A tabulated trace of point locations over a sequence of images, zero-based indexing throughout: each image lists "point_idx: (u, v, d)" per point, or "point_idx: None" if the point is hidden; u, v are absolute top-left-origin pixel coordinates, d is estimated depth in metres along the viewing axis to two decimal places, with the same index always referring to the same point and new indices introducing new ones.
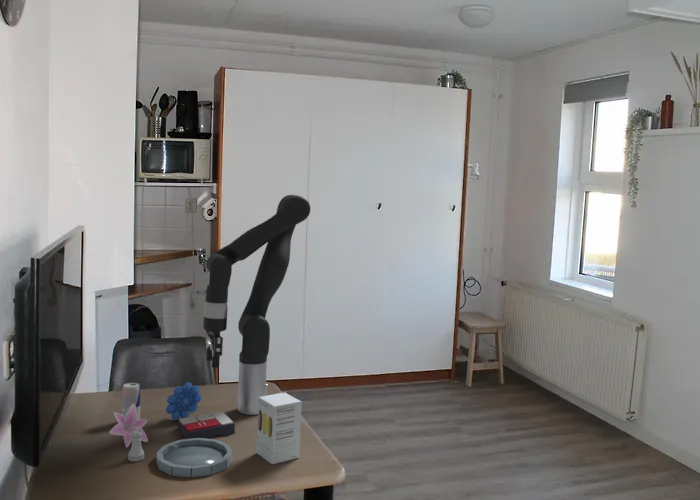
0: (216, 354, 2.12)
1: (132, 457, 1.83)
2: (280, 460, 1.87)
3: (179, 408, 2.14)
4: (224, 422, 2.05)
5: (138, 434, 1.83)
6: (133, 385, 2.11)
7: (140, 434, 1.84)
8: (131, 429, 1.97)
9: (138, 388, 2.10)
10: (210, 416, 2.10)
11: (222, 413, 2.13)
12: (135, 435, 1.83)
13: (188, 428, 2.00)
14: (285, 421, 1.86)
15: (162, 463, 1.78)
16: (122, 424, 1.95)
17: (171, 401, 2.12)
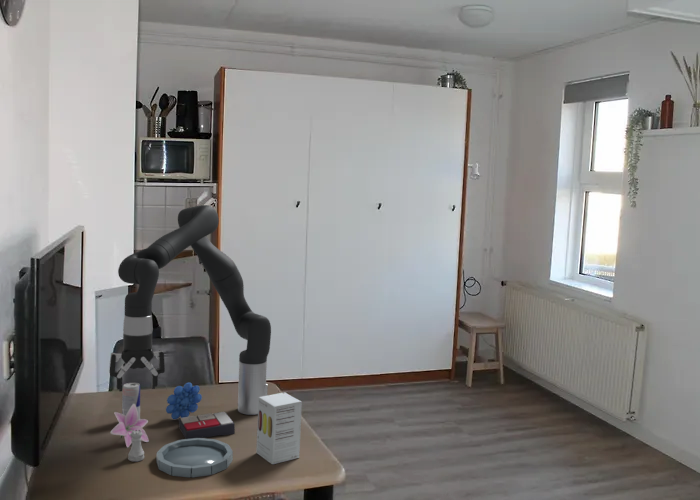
0: None
1: (132, 457, 1.83)
2: (280, 460, 1.87)
3: (179, 408, 2.14)
4: (224, 422, 2.05)
5: (138, 434, 1.83)
6: (133, 385, 2.11)
7: (140, 434, 1.84)
8: (132, 429, 1.97)
9: (138, 388, 2.10)
10: (211, 416, 2.10)
11: (224, 413, 2.13)
12: (135, 435, 1.83)
13: (187, 427, 2.01)
14: (285, 421, 1.86)
15: (162, 463, 1.78)
16: (123, 424, 1.95)
17: (171, 401, 2.12)
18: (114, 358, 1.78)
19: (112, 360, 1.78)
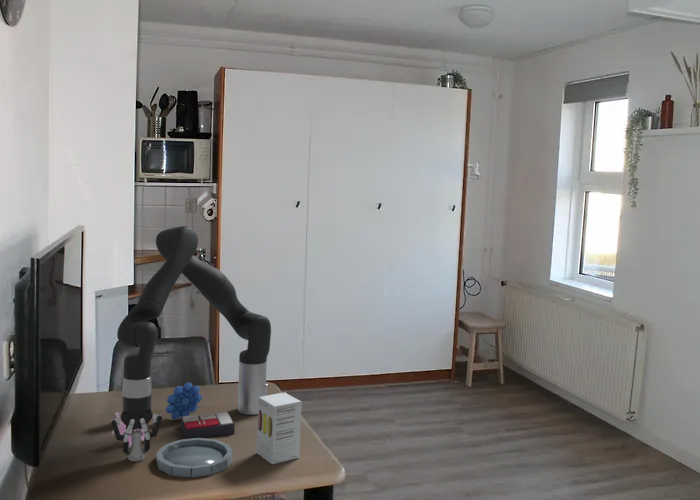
0: None
1: (132, 457, 1.83)
2: (280, 460, 1.87)
3: (179, 408, 2.14)
4: (224, 422, 2.05)
5: (138, 434, 1.83)
6: None
7: (140, 434, 1.84)
8: None
9: None
10: (213, 415, 2.10)
11: (225, 413, 2.13)
12: (135, 435, 1.83)
13: (187, 426, 2.02)
14: (285, 421, 1.86)
15: (162, 463, 1.78)
16: (124, 424, 1.95)
17: (171, 401, 2.12)
18: (115, 424, 1.80)
19: (113, 426, 1.80)
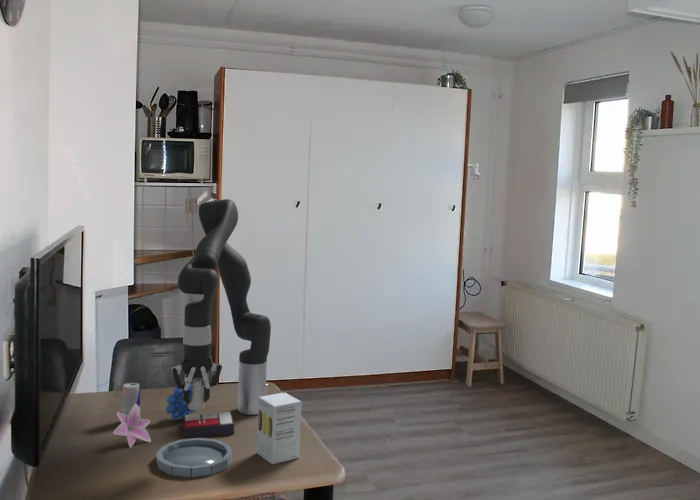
0: None
1: (193, 406, 1.82)
2: (280, 460, 1.87)
3: (179, 408, 2.14)
4: (224, 422, 2.05)
5: (198, 383, 1.82)
6: (133, 385, 2.11)
7: (200, 383, 1.82)
8: (134, 429, 1.97)
9: (138, 388, 2.10)
10: (214, 415, 2.11)
11: (228, 413, 2.13)
12: (195, 383, 1.82)
13: (186, 425, 2.03)
14: (285, 421, 1.86)
15: (162, 463, 1.78)
16: (125, 424, 1.95)
17: (171, 401, 2.12)
18: (176, 371, 1.79)
19: (174, 374, 1.79)
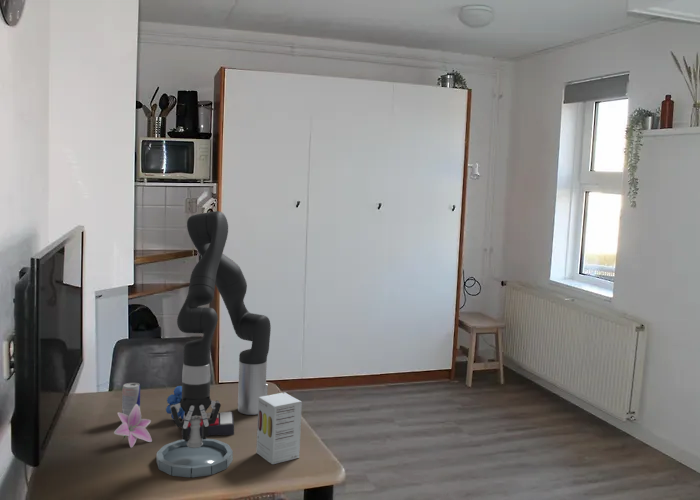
0: None
1: (191, 444, 1.83)
2: (280, 460, 1.87)
3: (179, 408, 2.14)
4: (224, 422, 2.05)
5: (197, 421, 1.83)
6: (133, 385, 2.11)
7: (199, 421, 1.83)
8: (135, 429, 1.97)
9: (138, 388, 2.10)
10: None
11: (229, 413, 2.13)
12: (194, 422, 1.83)
13: None
14: (285, 421, 1.86)
15: (162, 463, 1.78)
16: (126, 424, 1.95)
17: (171, 401, 2.12)
18: (174, 410, 1.80)
19: (173, 412, 1.80)
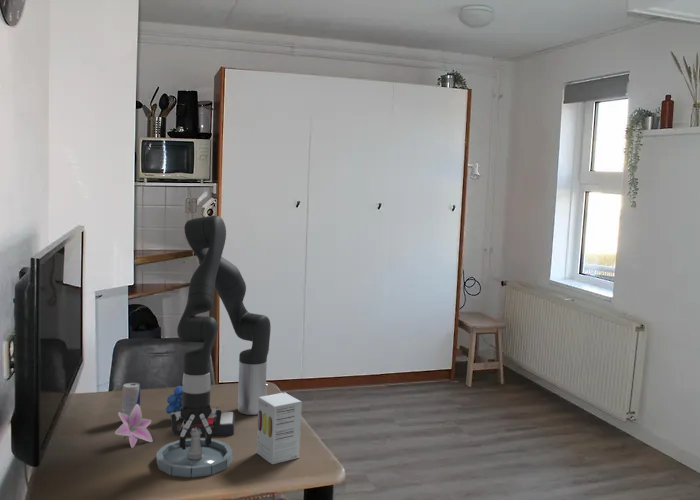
0: None
1: (192, 455, 1.83)
2: (280, 460, 1.87)
3: (179, 408, 2.14)
4: (224, 422, 2.05)
5: (198, 432, 1.84)
6: (133, 385, 2.11)
7: (200, 432, 1.84)
8: (136, 429, 1.97)
9: (138, 388, 2.10)
10: None
11: (230, 413, 2.13)
12: (195, 433, 1.83)
13: None
14: (285, 421, 1.86)
15: (162, 463, 1.78)
16: (127, 424, 1.95)
17: (171, 401, 2.12)
18: (174, 418, 1.80)
19: (173, 420, 1.80)
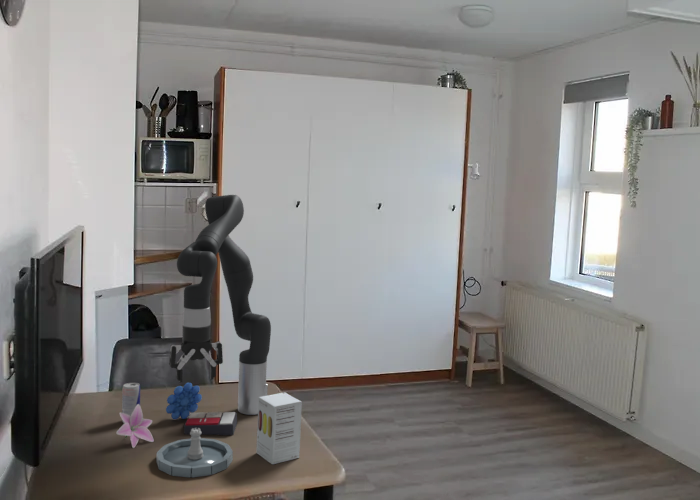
0: None
1: (192, 456, 1.83)
2: (280, 460, 1.87)
3: (179, 408, 2.14)
4: (223, 422, 2.05)
5: (198, 432, 1.83)
6: (133, 385, 2.11)
7: (199, 432, 1.84)
8: (137, 429, 1.97)
9: (138, 388, 2.10)
10: (218, 414, 2.12)
11: (232, 413, 2.13)
12: (195, 433, 1.83)
13: (187, 422, 2.05)
14: (285, 421, 1.86)
15: (162, 463, 1.78)
16: (128, 424, 1.95)
17: (171, 401, 2.12)
18: (174, 350, 1.80)
19: (173, 352, 1.80)
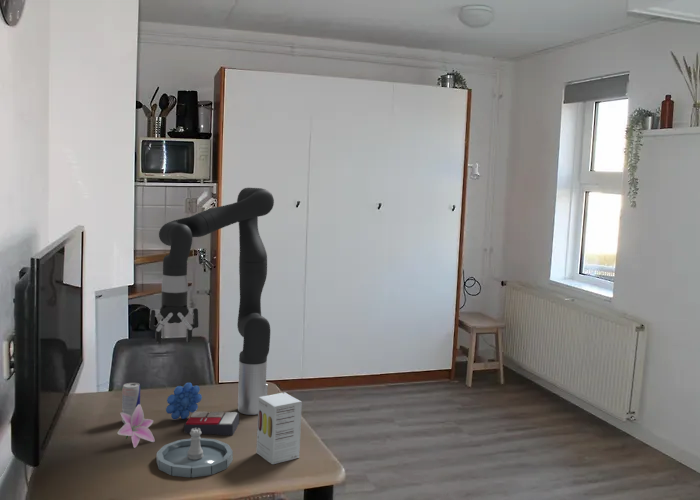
0: None
1: (192, 456, 1.83)
2: (280, 460, 1.87)
3: (179, 408, 2.14)
4: (223, 422, 2.05)
5: (198, 432, 1.83)
6: (133, 385, 2.11)
7: (199, 432, 1.84)
8: (138, 429, 1.97)
9: (138, 388, 2.10)
10: (220, 414, 2.12)
11: (234, 413, 2.13)
12: (195, 433, 1.83)
13: (188, 421, 2.06)
14: (285, 421, 1.86)
15: (162, 463, 1.78)
16: (129, 424, 1.95)
17: (171, 401, 2.12)
18: (154, 313, 1.98)
19: (152, 315, 1.98)
